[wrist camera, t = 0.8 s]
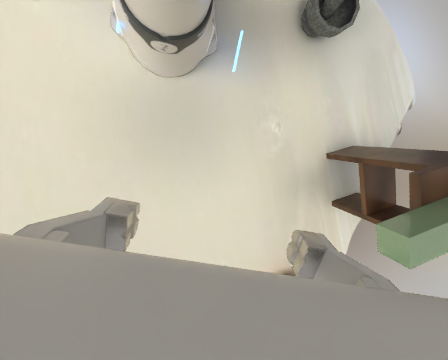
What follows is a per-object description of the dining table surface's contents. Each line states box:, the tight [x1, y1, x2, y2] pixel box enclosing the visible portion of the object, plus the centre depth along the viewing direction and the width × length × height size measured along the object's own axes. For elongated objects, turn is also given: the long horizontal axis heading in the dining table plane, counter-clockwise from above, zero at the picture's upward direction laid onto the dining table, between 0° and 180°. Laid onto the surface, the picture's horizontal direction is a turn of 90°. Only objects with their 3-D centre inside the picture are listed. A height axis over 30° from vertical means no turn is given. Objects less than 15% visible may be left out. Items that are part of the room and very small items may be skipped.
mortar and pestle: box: [301, 0, 360, 37], centre depth 41 cm, size 11×9×12 cm
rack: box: [326, 146, 448, 224], centre depth 45 cm, size 12×14×24 cm
